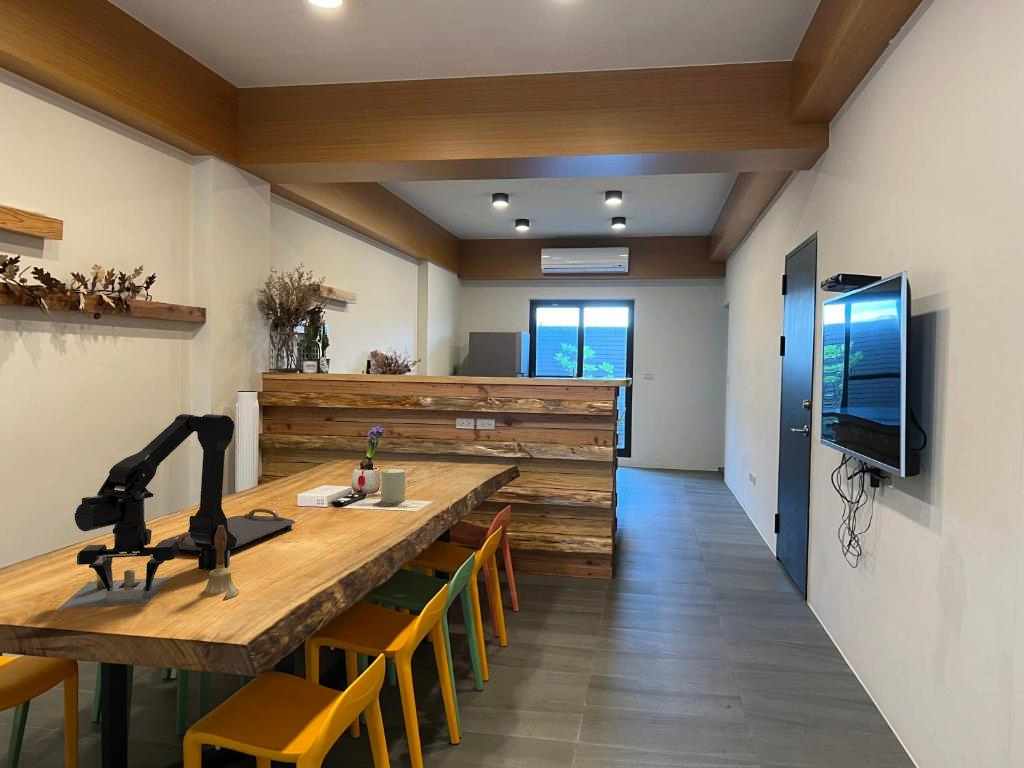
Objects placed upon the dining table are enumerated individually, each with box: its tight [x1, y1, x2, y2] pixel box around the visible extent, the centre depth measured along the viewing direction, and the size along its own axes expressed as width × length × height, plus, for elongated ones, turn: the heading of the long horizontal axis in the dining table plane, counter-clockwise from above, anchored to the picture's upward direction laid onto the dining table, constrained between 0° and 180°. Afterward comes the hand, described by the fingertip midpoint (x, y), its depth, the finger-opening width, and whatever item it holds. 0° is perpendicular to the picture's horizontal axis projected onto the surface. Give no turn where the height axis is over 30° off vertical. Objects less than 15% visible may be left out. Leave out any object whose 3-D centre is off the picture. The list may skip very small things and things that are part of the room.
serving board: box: [160, 507, 296, 552], centre depth 199 cm, size 39×23×6 cm, turn 166°
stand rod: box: [123, 569, 136, 588], centre depth 146 cm, size 2×2×6 cm
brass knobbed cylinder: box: [96, 573, 107, 590], centre depth 151 cm, size 2×2×6 cm
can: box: [380, 468, 407, 504], centre depth 256 cm, size 9×9×12 cm
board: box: [57, 576, 169, 610], centre depth 149 cm, size 17×17×2 cm
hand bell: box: [204, 525, 240, 601], centre depth 152 cm, size 8×8×16 cm
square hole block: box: [106, 578, 152, 603], centre depth 146 cm, size 7×7×2 cm
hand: (129, 591), depth 146 cm, fingers closed on square hole block, 7 cm apart
